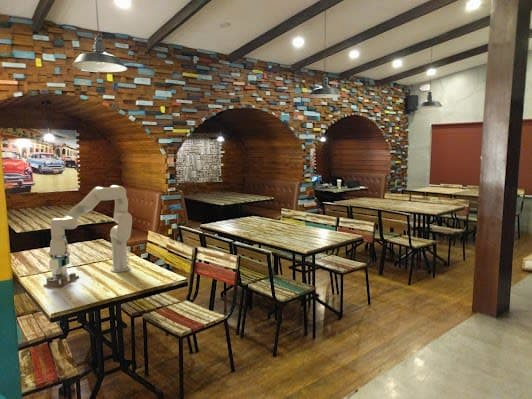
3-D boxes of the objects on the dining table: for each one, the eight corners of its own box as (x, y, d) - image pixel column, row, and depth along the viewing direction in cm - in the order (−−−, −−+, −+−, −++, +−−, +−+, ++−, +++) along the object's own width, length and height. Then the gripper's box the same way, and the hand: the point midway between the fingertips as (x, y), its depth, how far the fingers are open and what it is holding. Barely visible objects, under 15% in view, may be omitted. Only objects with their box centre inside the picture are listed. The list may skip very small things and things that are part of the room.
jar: (58, 271, 279) (56, 254, 277) (69, 271, 278) (67, 254, 277) (50, 275, 270) (48, 258, 268) (61, 275, 269) (60, 258, 268)
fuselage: (62, 263, 262) (61, 254, 261) (69, 263, 261) (69, 254, 261) (49, 269, 249) (49, 259, 248) (57, 269, 249) (56, 260, 248)
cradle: (62, 276, 267) (61, 270, 266) (78, 277, 266) (78, 271, 265) (43, 286, 248) (42, 280, 248) (61, 287, 247) (61, 280, 246)
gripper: (74, 236, 256) (75, 264, 258) (49, 235, 258) (51, 263, 260) (67, 239, 248) (68, 267, 251) (41, 238, 250) (43, 266, 252)
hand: (59, 265), depth 255 cm, fingers closed on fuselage, 5 cm apart
